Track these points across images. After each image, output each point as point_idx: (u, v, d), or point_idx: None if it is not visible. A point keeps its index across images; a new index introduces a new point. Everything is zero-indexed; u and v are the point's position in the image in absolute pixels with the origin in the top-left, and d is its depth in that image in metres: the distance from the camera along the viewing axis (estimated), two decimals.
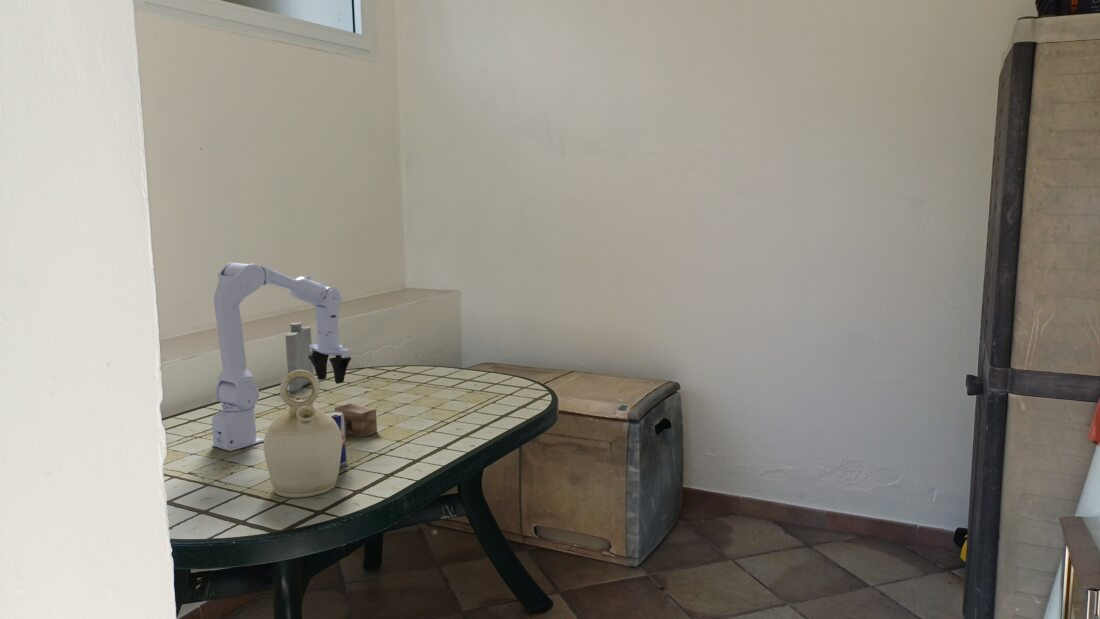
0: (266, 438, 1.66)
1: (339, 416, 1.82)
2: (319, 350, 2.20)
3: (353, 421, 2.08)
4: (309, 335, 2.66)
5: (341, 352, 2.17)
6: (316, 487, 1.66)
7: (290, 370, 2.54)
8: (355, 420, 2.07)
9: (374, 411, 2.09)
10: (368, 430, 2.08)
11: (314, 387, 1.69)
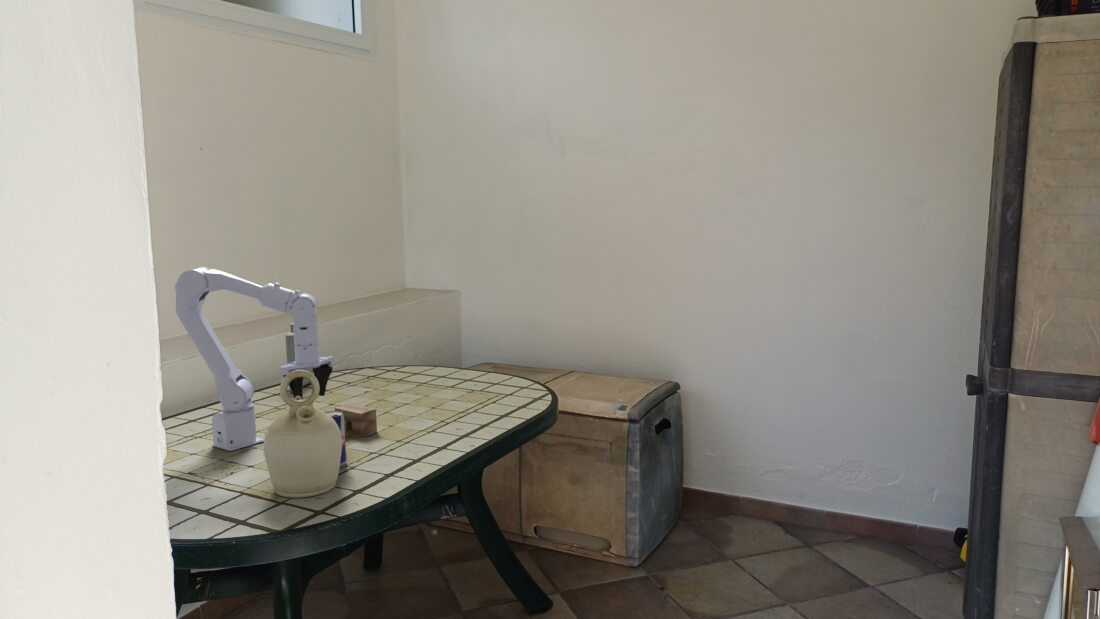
0: (266, 438, 1.66)
1: (339, 416, 1.82)
2: None
3: (353, 421, 2.08)
4: None
5: None
6: (316, 487, 1.66)
7: None
8: (355, 420, 2.07)
9: (374, 411, 2.09)
10: (368, 430, 2.08)
11: (314, 387, 1.69)
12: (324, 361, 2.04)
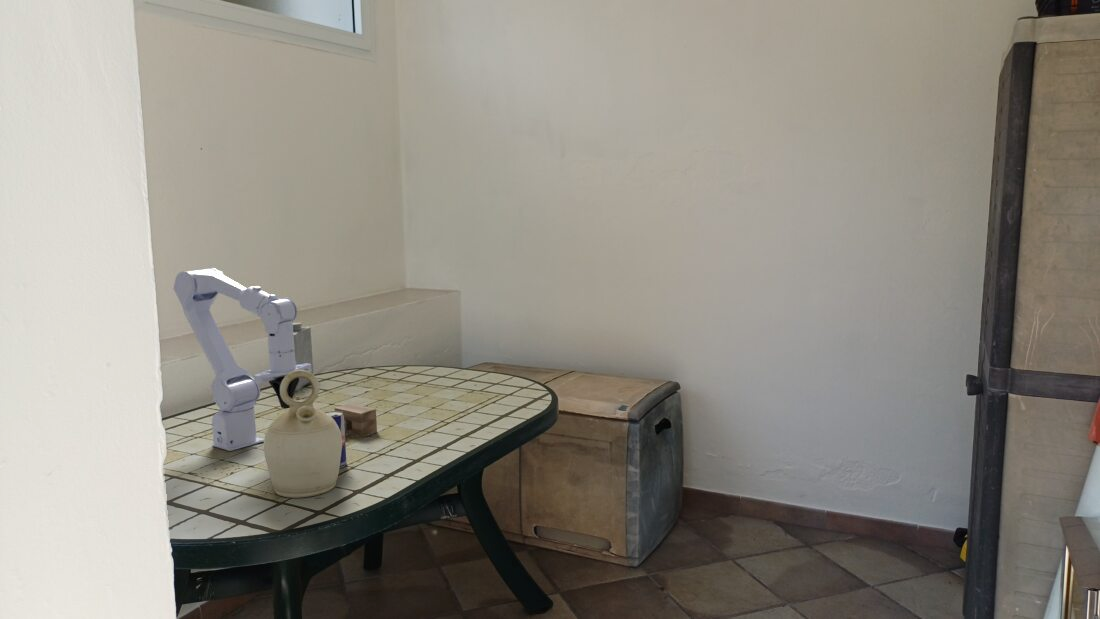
0: (266, 438, 1.66)
1: (339, 416, 1.82)
2: None
3: (353, 421, 2.08)
4: (309, 335, 2.66)
5: None
6: (316, 487, 1.66)
7: None
8: (355, 420, 2.07)
9: (374, 411, 2.09)
10: (368, 430, 2.08)
11: (314, 387, 1.69)
12: (301, 369, 1.96)
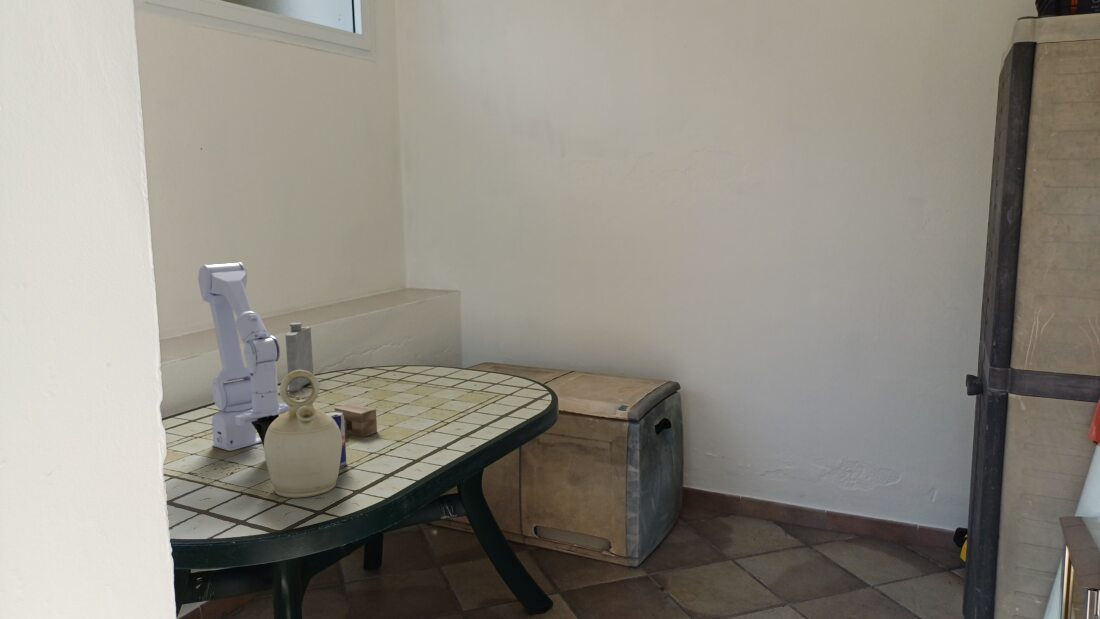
0: (266, 438, 1.66)
1: (339, 416, 1.82)
2: None
3: (353, 421, 2.08)
4: (309, 335, 2.66)
5: None
6: (316, 487, 1.66)
7: (290, 370, 2.54)
8: (355, 420, 2.07)
9: (374, 411, 2.09)
10: (368, 430, 2.08)
11: (314, 387, 1.69)
12: (284, 408, 1.91)
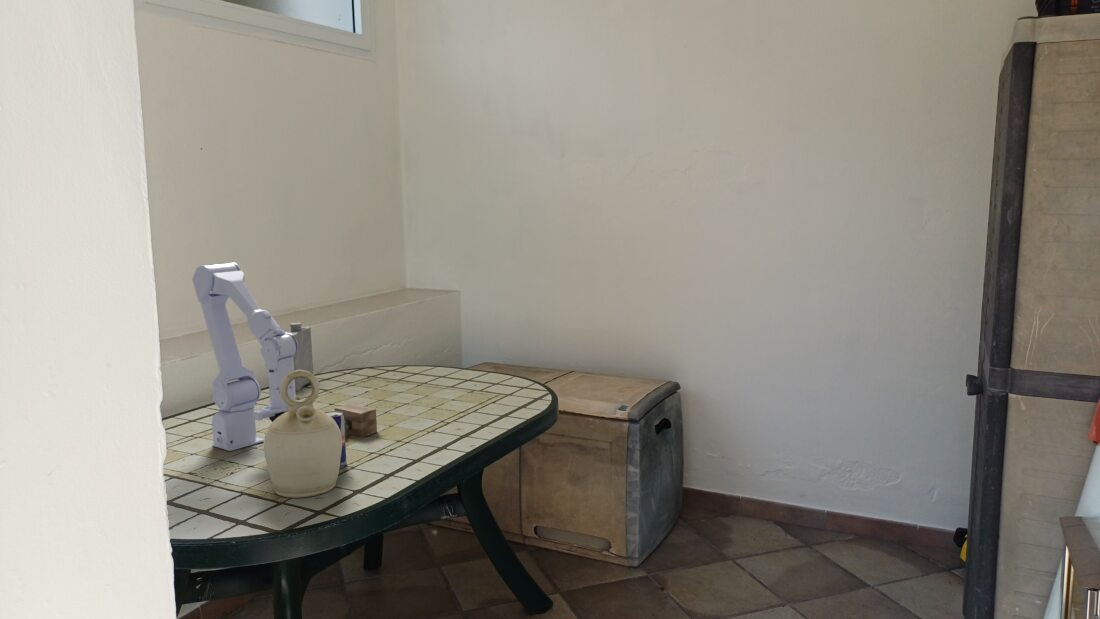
0: (266, 438, 1.66)
1: (339, 416, 1.82)
2: None
3: (353, 421, 2.08)
4: (309, 335, 2.66)
5: None
6: (316, 487, 1.66)
7: None
8: (355, 420, 2.07)
9: (374, 411, 2.09)
10: (368, 430, 2.08)
11: (314, 387, 1.69)
12: None
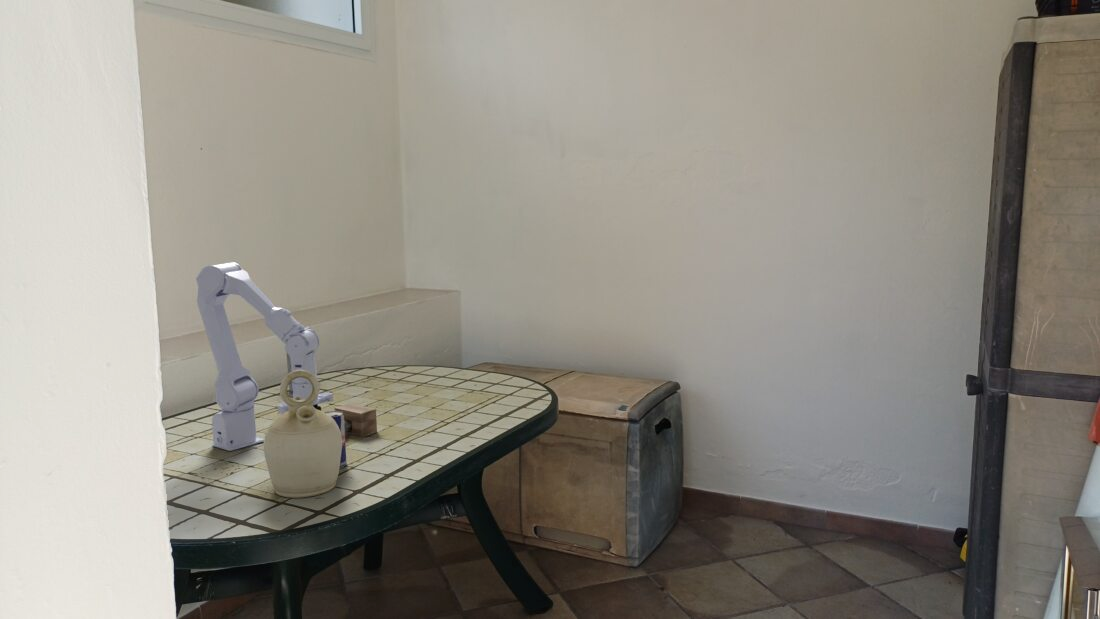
0: (266, 438, 1.66)
1: (339, 416, 1.82)
2: None
3: (353, 421, 2.08)
4: None
5: None
6: (316, 487, 1.66)
7: (290, 370, 2.54)
8: (355, 420, 2.07)
9: (374, 411, 2.09)
10: (368, 430, 2.08)
11: (314, 387, 1.69)
12: (323, 398, 2.00)
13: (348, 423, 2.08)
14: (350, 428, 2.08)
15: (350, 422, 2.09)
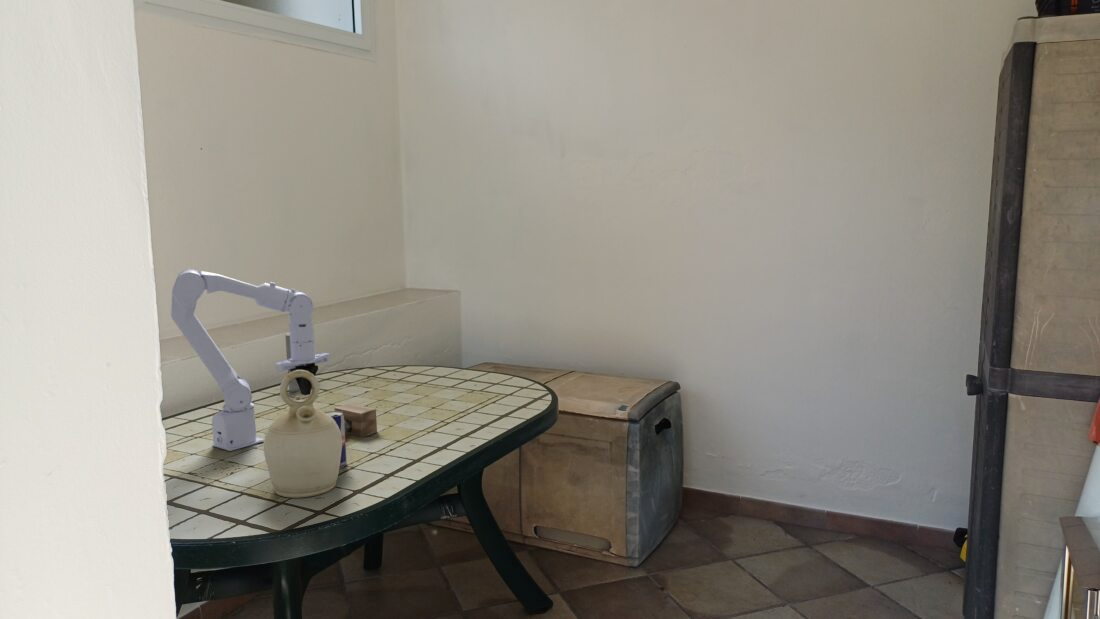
0: (266, 438, 1.66)
1: (339, 416, 1.82)
2: None
3: (353, 421, 2.08)
4: None
5: None
6: (316, 487, 1.66)
7: None
8: (355, 420, 2.07)
9: (374, 411, 2.09)
10: (368, 430, 2.08)
11: (314, 387, 1.69)
12: (320, 358, 2.08)
13: (348, 423, 2.08)
14: (350, 428, 2.08)
15: (350, 422, 2.09)
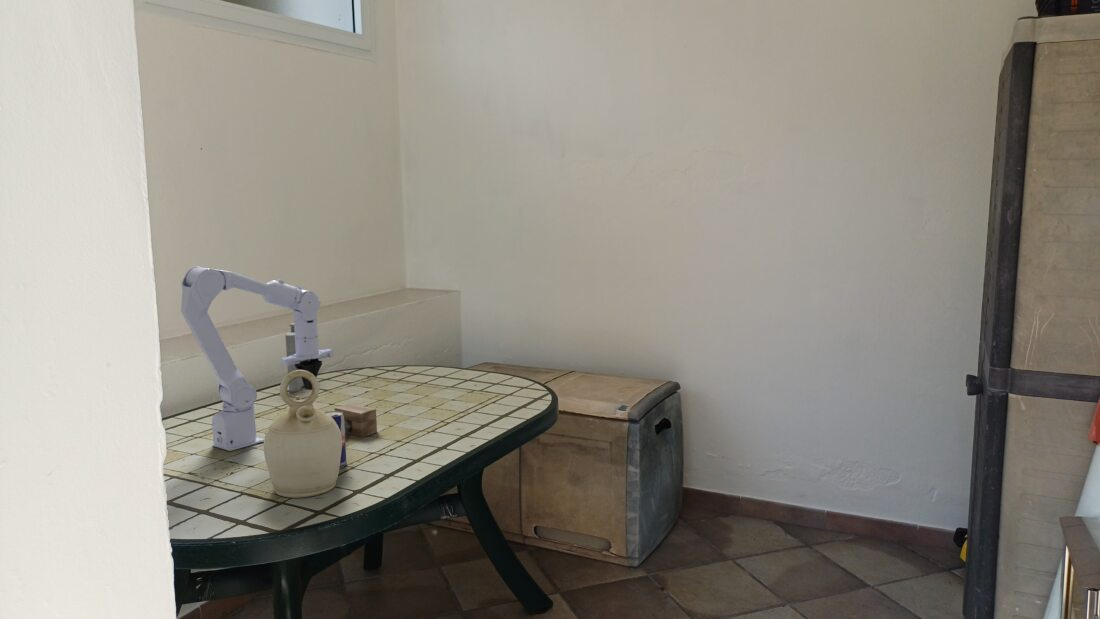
0: (266, 438, 1.66)
1: (339, 416, 1.82)
2: None
3: (353, 421, 2.08)
4: None
5: None
6: (316, 487, 1.66)
7: (290, 370, 2.54)
8: (355, 420, 2.07)
9: (374, 411, 2.09)
10: (368, 430, 2.08)
11: (314, 387, 1.69)
12: (323, 353, 2.14)
13: (348, 423, 2.08)
14: (350, 428, 2.08)
15: (350, 422, 2.09)
